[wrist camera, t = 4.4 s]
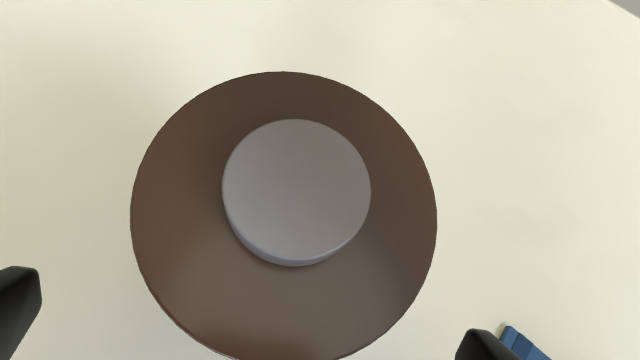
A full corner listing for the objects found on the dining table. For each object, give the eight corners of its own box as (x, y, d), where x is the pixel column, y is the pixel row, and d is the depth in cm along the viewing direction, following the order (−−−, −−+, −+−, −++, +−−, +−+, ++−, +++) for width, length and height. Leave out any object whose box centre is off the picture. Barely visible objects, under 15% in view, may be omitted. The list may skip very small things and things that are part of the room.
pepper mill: (272, 360, 16) (324, 476, 4) (186, 282, 16) (24, 194, 5) (342, 269, 18) (512, 175, 6) (264, 201, 18) (283, -4, 7)
